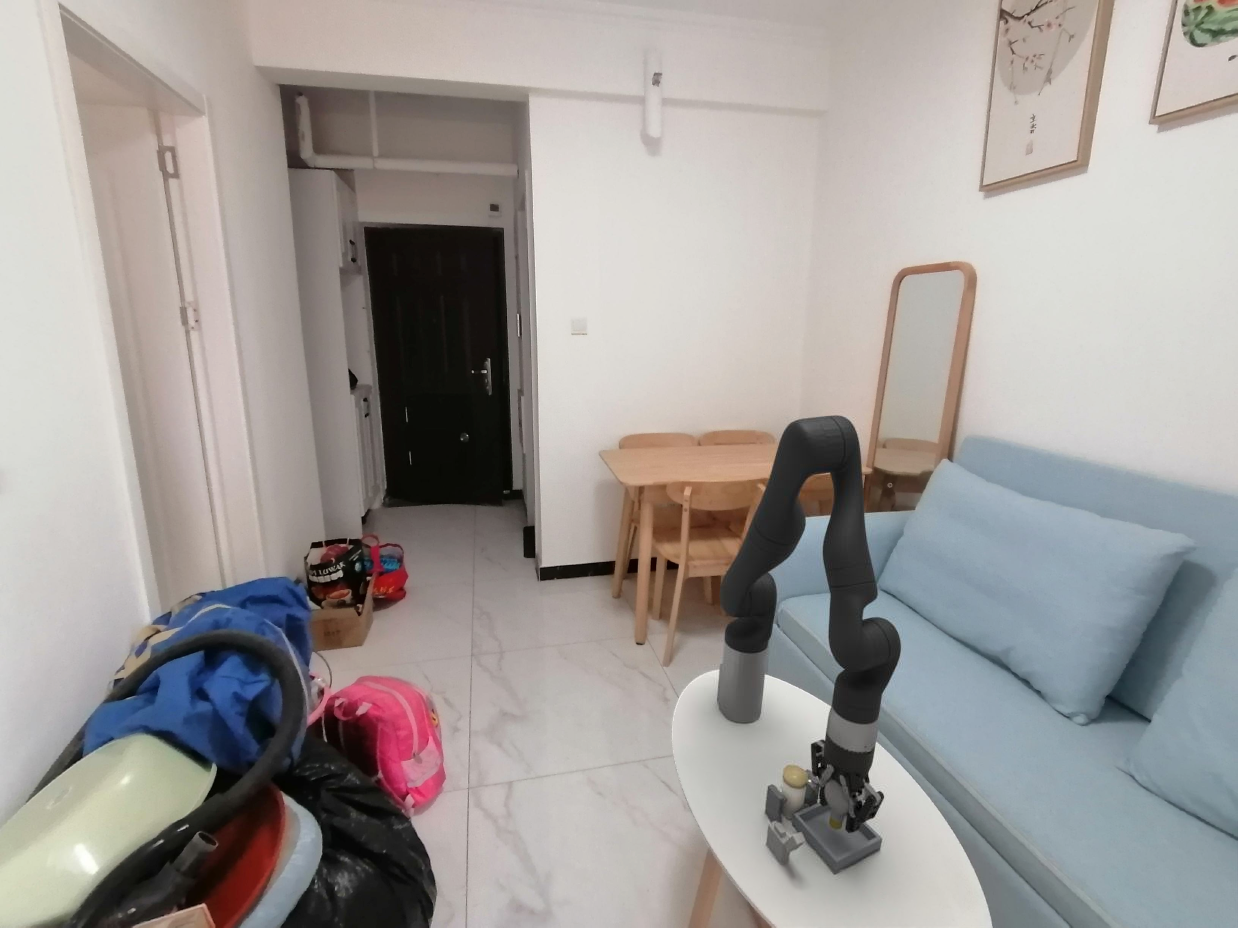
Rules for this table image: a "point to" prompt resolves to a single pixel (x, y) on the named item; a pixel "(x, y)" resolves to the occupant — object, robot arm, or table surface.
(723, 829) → the table surface
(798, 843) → the lighter
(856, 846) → the tray
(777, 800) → the clip block
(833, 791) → the light bulb
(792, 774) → the cream domed cylinder
